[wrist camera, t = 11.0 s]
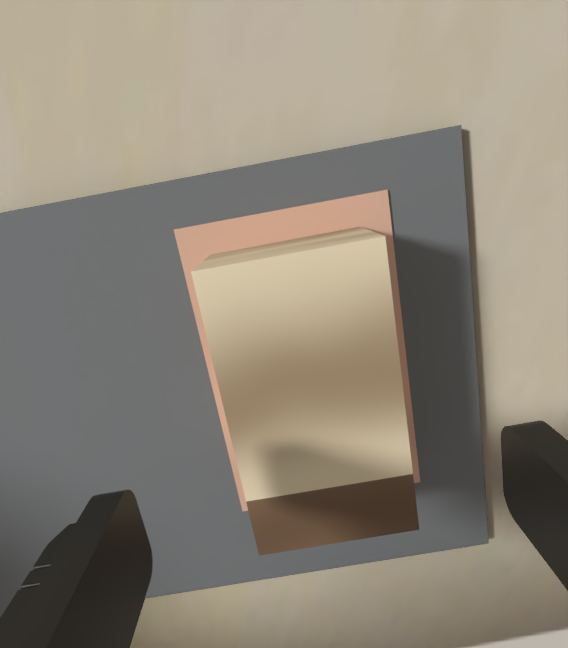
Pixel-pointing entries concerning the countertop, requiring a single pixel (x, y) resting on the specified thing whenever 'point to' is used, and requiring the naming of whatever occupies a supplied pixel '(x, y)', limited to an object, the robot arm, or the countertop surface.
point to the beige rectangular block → (311, 387)
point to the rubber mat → (196, 363)
